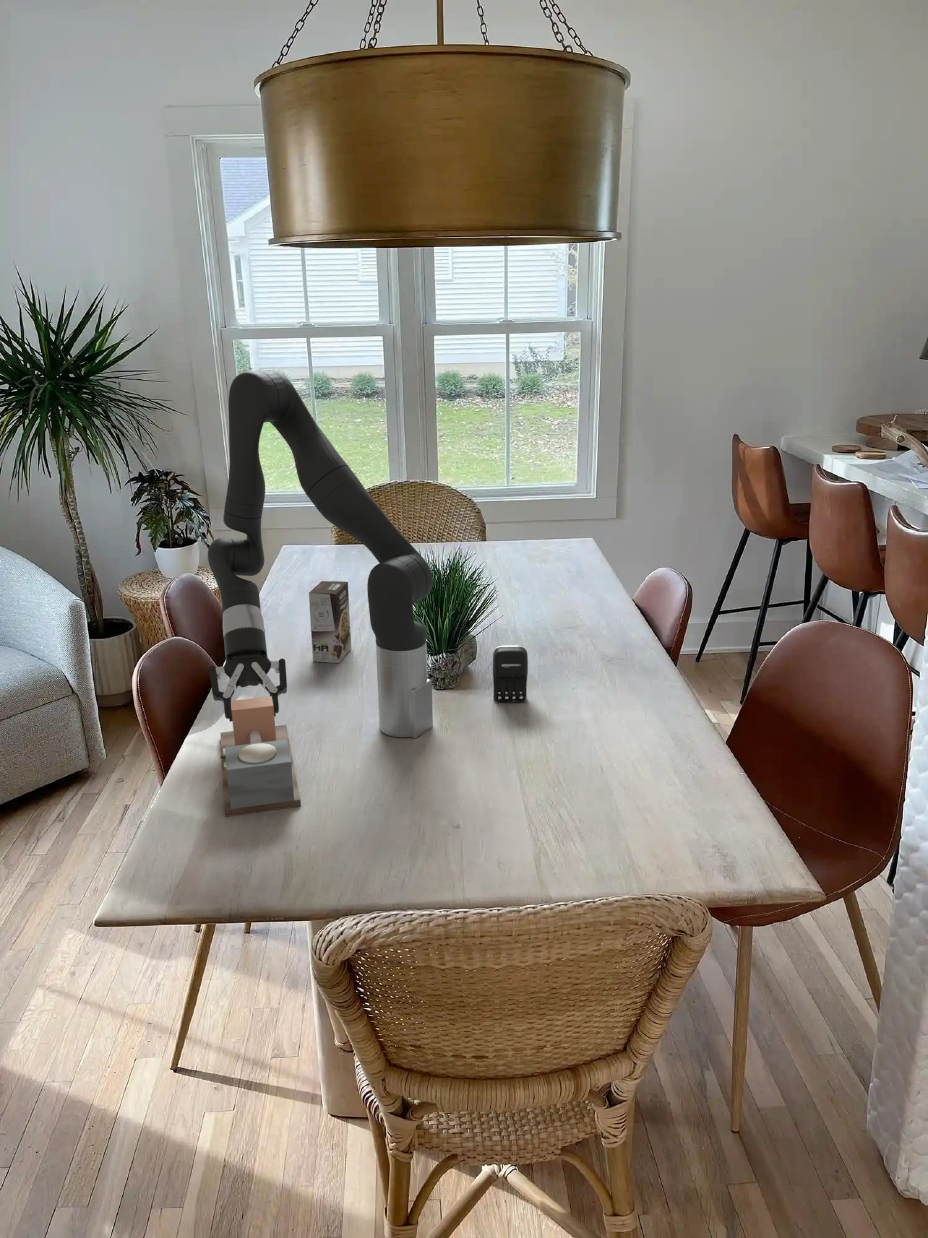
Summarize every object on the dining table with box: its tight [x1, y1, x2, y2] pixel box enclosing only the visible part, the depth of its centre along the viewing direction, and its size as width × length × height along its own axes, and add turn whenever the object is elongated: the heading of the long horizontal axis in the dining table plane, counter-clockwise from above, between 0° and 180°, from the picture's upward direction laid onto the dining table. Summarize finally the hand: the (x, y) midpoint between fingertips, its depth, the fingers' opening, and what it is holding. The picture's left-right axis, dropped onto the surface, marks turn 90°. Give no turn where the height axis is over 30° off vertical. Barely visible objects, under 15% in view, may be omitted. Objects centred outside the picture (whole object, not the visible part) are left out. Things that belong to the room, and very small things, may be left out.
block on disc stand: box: [220, 695, 276, 760], centre depth 167 cm, size 9×10×10 cm
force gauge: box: [220, 724, 302, 817], centre depth 168 cm, size 28×12×9 cm, turn 14°
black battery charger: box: [492, 644, 529, 704], centre depth 192 cm, size 7×4×11 cm, turn 90°
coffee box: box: [308, 580, 352, 664], centre depth 215 cm, size 9×6×16 cm
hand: (252, 717), depth 175 cm, fingers open, 7 cm apart
